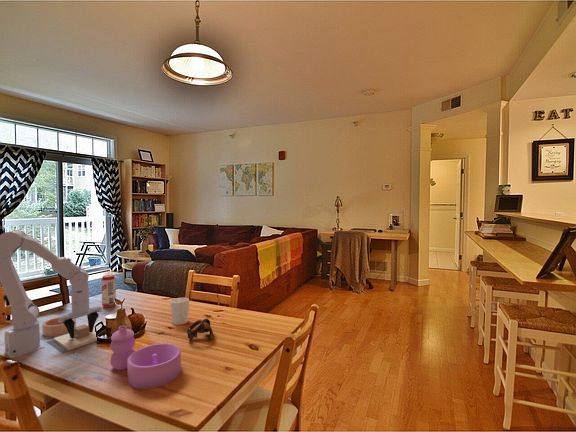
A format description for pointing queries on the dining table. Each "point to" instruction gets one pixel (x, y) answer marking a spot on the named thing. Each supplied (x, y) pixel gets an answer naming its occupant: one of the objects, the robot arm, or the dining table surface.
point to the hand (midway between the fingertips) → (81, 334)
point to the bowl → (55, 327)
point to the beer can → (108, 291)
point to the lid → (77, 338)
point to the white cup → (179, 310)
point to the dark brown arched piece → (200, 328)
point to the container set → (145, 360)
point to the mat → (63, 347)
